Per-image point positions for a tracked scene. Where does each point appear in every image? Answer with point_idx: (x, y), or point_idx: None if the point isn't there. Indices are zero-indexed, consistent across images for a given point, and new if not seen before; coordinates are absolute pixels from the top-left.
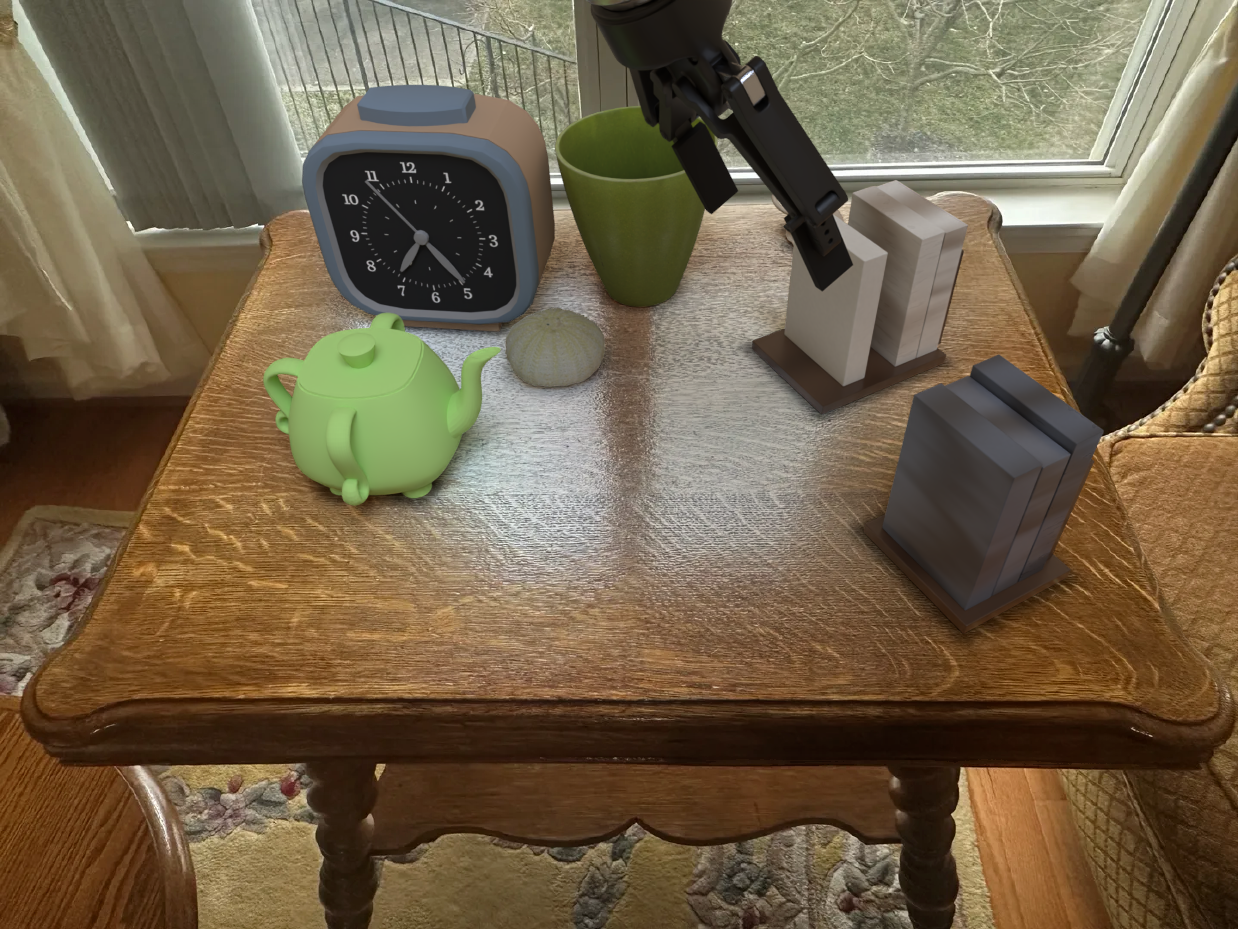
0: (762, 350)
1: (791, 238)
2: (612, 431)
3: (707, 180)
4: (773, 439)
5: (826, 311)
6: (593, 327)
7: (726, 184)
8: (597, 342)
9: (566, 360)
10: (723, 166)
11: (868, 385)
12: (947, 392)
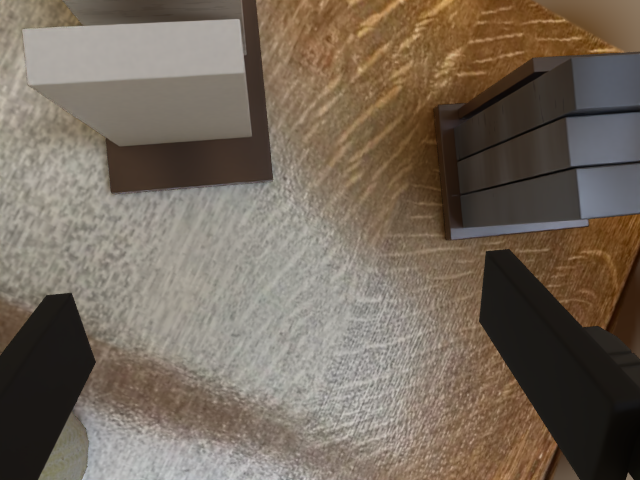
0: (138, 190)
1: None
2: (188, 426)
3: (54, 400)
4: (285, 255)
5: (186, 118)
6: None
7: (61, 332)
8: None
9: (66, 474)
10: (35, 354)
11: (262, 106)
12: (596, 174)
